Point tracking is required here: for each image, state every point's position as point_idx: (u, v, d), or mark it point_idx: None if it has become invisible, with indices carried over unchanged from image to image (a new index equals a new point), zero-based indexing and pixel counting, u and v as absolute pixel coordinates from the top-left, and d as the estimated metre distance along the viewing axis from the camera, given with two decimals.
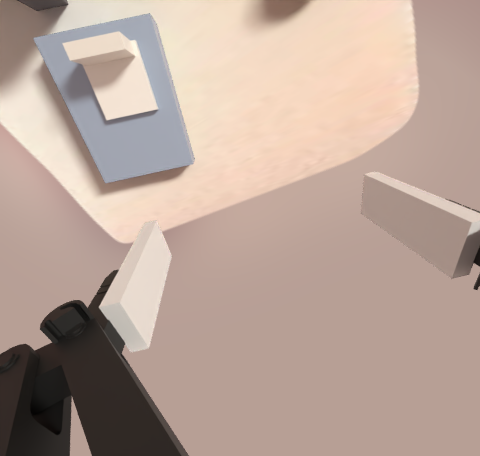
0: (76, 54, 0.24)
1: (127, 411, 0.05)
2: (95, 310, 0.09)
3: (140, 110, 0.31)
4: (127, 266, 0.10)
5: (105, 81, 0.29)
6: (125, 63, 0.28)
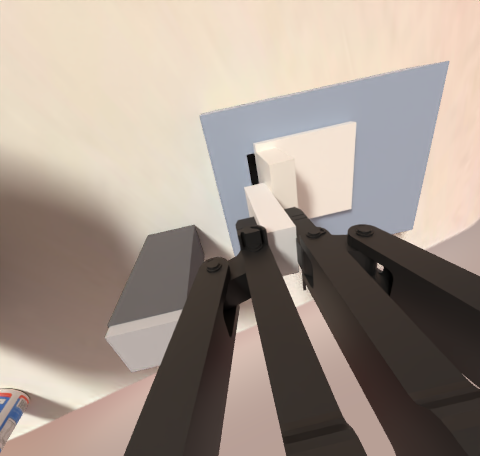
0: None
1: (286, 321, 0.06)
2: None
3: (351, 154, 0.17)
4: (261, 211, 0.12)
5: (303, 200, 0.19)
6: None
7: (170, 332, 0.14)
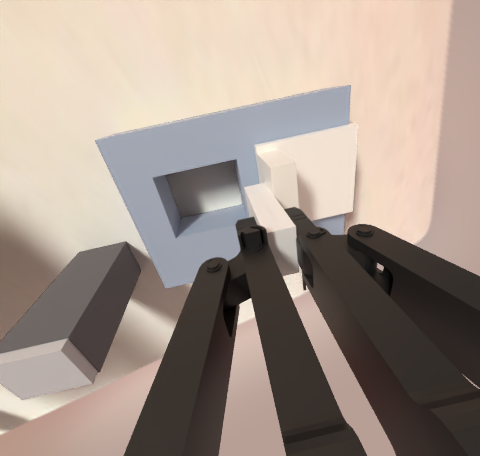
0: None
1: (286, 320, 0.06)
2: None
3: (352, 156, 0.17)
4: (261, 211, 0.12)
5: (305, 202, 0.19)
6: None
7: (50, 362, 0.14)
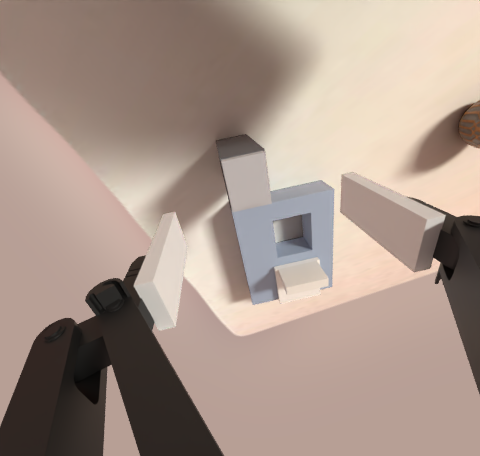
0: (293, 292, 0.32)
1: (159, 383, 0.05)
2: None
3: (307, 296, 0.38)
4: (154, 251, 0.11)
5: None
6: None
7: (261, 194, 0.21)
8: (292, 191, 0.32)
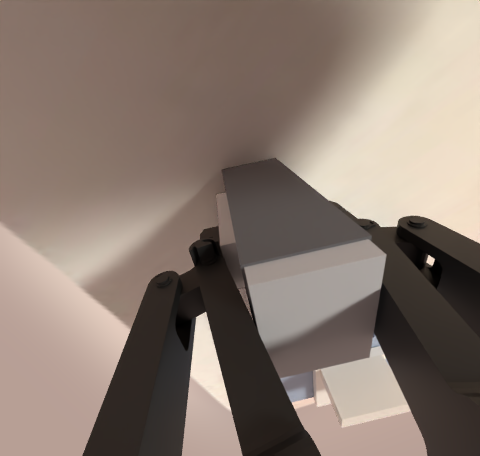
0: (352, 423, 0.19)
1: (242, 334, 0.06)
2: None
3: None
4: (224, 221, 0.12)
5: None
6: None
7: (348, 344, 0.08)
8: None
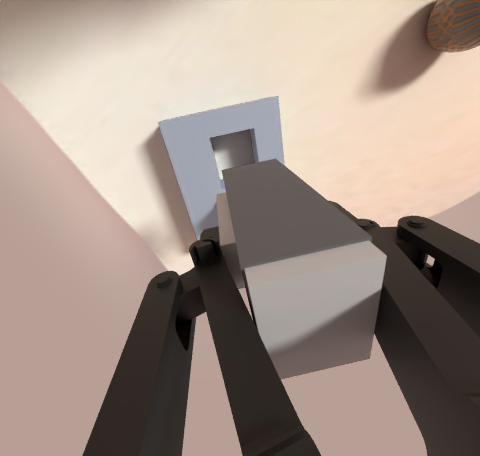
0: None
1: (242, 333, 0.06)
2: None
3: None
4: (224, 221, 0.12)
5: None
6: None
7: (348, 346, 0.08)
8: (233, 105, 0.28)
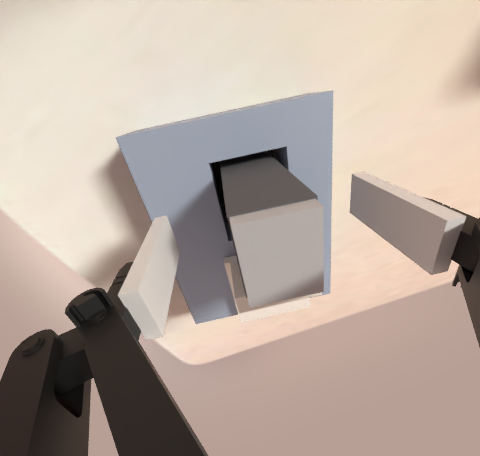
0: None
1: (144, 395, 0.05)
2: (113, 299, 0.09)
3: (287, 310, 0.22)
4: (141, 258, 0.10)
5: None
6: None
7: (306, 279, 0.11)
8: (250, 106, 0.16)
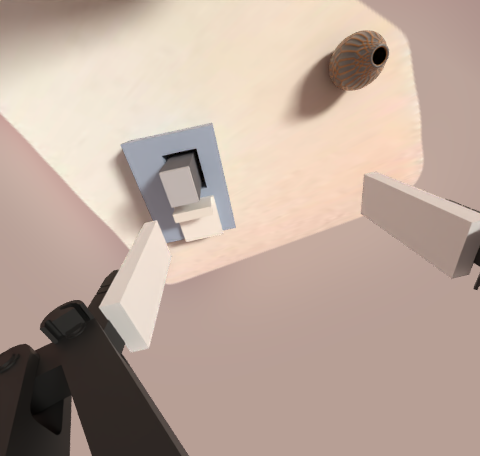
0: (180, 219, 0.35)
1: (127, 411, 0.05)
2: (95, 310, 0.09)
3: (211, 235, 0.42)
4: (127, 266, 0.10)
5: (189, 220, 0.40)
6: None
7: (190, 195, 0.31)
8: (181, 130, 0.36)
